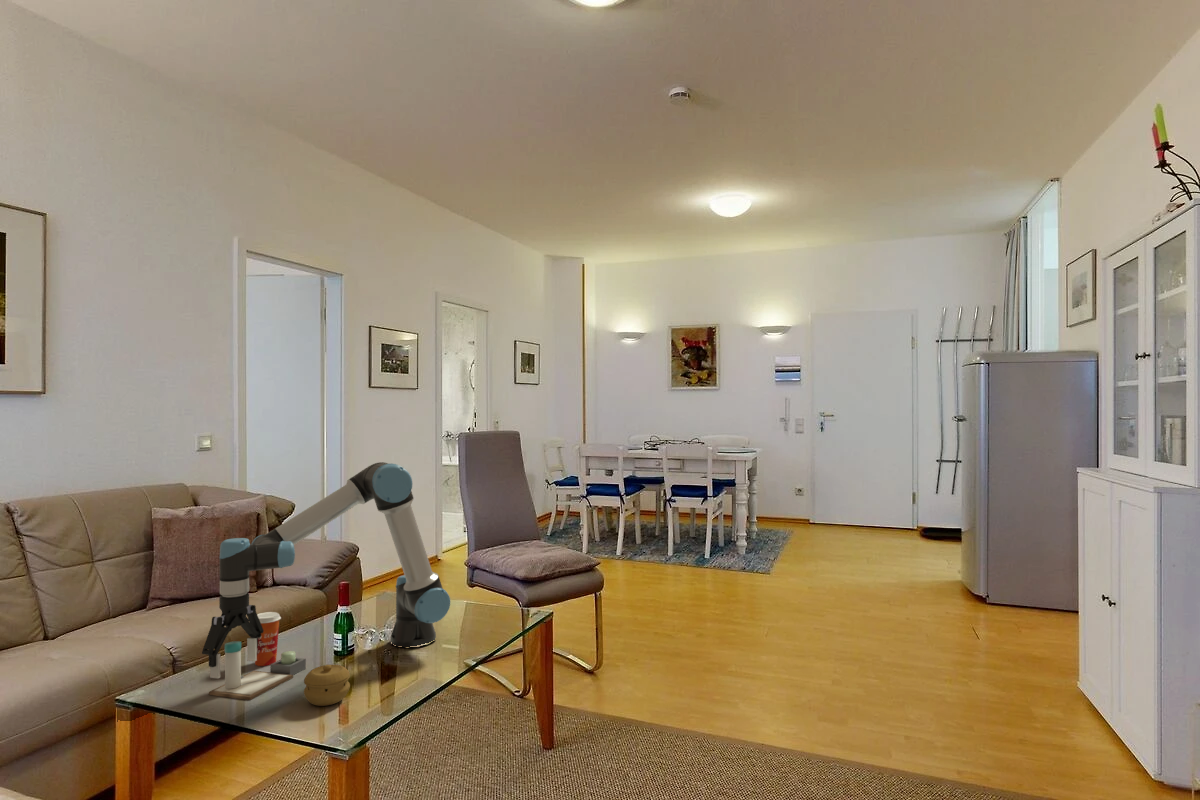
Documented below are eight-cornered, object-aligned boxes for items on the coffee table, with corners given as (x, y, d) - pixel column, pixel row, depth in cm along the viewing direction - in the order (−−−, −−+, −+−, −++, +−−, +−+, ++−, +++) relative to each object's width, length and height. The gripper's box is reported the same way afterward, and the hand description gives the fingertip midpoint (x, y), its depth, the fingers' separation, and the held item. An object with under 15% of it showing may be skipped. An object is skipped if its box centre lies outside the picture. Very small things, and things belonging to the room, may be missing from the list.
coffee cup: (251, 669, 214) (251, 620, 215) (250, 660, 221) (251, 613, 222) (281, 664, 218) (281, 616, 218) (279, 656, 225) (280, 610, 226)
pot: (350, 691, 197) (350, 655, 197) (349, 707, 186) (349, 669, 186) (305, 696, 193) (305, 660, 193) (301, 713, 182) (302, 675, 182)
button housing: (305, 668, 215) (305, 658, 215) (290, 676, 208) (290, 666, 208) (286, 666, 217) (286, 656, 217) (270, 674, 210) (270, 664, 210)
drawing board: (293, 677, 207) (293, 672, 207) (250, 700, 191) (250, 694, 191) (253, 673, 211) (253, 668, 211) (208, 694, 194) (208, 689, 194)
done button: (298, 663, 214) (298, 651, 214) (289, 668, 210) (289, 656, 210) (287, 662, 215) (287, 650, 215) (278, 667, 211) (278, 654, 211)
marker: (244, 684, 199) (244, 641, 200) (233, 689, 195) (233, 646, 196) (232, 683, 200) (232, 640, 201) (221, 688, 196) (221, 645, 197)
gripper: (255, 582, 211) (255, 653, 211) (187, 604, 187) (186, 684, 187) (276, 584, 209) (276, 655, 209) (210, 606, 185) (209, 686, 185)
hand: (234, 669), depth 198 cm, fingers open, 13 cm apart
